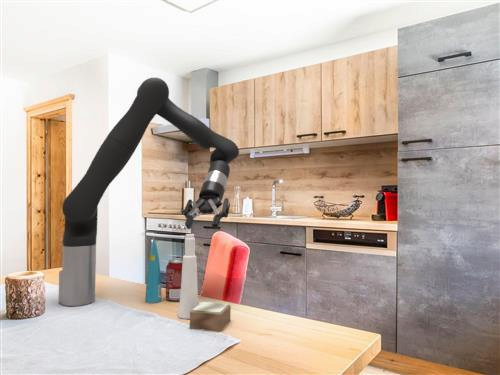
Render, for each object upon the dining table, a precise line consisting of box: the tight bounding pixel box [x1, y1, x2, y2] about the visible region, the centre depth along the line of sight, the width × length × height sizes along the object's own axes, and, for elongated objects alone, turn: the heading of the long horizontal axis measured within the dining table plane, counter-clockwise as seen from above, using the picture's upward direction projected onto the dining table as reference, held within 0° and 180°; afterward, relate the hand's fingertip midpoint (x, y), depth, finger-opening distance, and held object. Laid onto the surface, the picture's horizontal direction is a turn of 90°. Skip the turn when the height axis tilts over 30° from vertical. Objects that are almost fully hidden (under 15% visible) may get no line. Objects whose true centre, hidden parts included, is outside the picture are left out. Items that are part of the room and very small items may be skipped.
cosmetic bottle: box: [177, 233, 200, 320], centre depth 100 cm, size 6×6×22 cm
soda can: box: [165, 258, 183, 302], centre depth 116 cm, size 7×7×12 cm
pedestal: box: [189, 301, 232, 332], centre depth 93 cm, size 8×8×4 cm
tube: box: [144, 237, 163, 304], centre depth 113 cm, size 7×5×19 cm, turn 23°
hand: (200, 227), depth 110 cm, fingers open, 8 cm apart
